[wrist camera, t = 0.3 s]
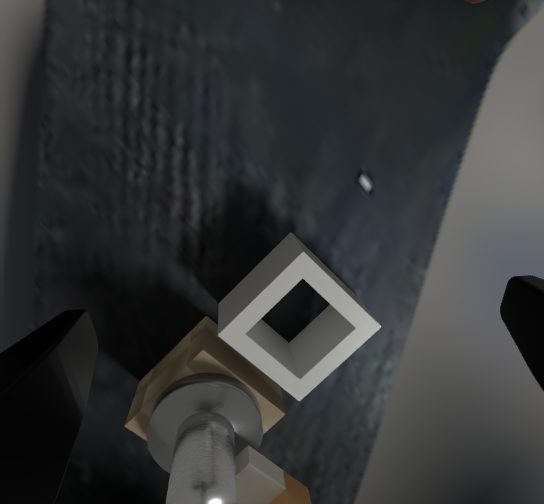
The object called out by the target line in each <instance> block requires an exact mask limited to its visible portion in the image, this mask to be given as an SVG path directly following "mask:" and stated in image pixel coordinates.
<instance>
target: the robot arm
mask: <svg viewBox="0 0 544 504" xmlns="http://www.w3.org/2000/svg"><path fill="white" fill-rule="evenodd" d="M500 313H501V317H502V320H503V322H504V323H505V325H506V327H507V329H508V331H509V332H510V334H511V336H512V338H513V340H514V342H515V343H516V345H517V347H518V349H519V351H520V352H521V354H522V356H523V358H524V360H525V362H526V363H527V365H528V367H529V369H530V371H531V372H532V374H533V376H534V377H535V379H536V380H537V382H538V383H539V385H540V387H541V388H542V389H543V391H544V279H541V278H538V277H535V276H531V275H528V276H516V277H515V276H514V277H512V278H511V279H510V280H509V281H508V283H507V286H506V290H505V293H504V297H503V300H502V303H501V306H500ZM97 353H98V340H97V336H96V333H95V330H94V327H93V324H92V320H91V317H90V314H89V313H88V311H87V310H85V309H76V310H66V311H63V312H62V313H60V314H59V315H57V316H56V317H54V318H53V319H51V320H50V321H48V322H47V323H45V324H44V325H42V326H41V327H39V328H38V329H36V330H35V331H33V332H32V333H30V334H29V335H27V336H25V337H24V338H22V339H21V340H20V341H18V342H16V343H15V344H14V345H12V346H11V347H9V348H7V349H6V350H4V351H3V352H1V353H0V504H55V501H56V498H57V495H58V492H59V489H60V487H61V484H62V481H63V478H64V475H65V472H66V469H67V466H68V463H69V460H70V457H71V454H72V451H73V448H74V445H75V442H76V439H77V436H78V433H79V430H80V427H81V424H82V421H83V417H84V413H85V409H86V404H87V400H88V395H89V390H90V386H91V381H92V376H93V371H94V367H95V362H96V357H97Z"/></svg>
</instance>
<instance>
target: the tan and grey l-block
mask: <svg viewBox="0 0 544 504" xmlns="http://www.w3.org/2000/svg"><path fill="white" fill-rule="evenodd" d="M235 462H236V494H237V504H311V501H310V496H309V492H308V488H307V487H305V486H304V485H303V484H301V483H300V482H298V481H297V480H296V479H294V478H293V477H292V476H290V475H289V474H287V473H286V472H285V471H283V470H282V469H280V468H279V467H278V466H276V465H275V464H274V463H272V462H271V461H269V460H268V459H267V458H265V457H264V456H263V455H261V454H260V453H258V452H257V451H256V450H254V449H253V448H251V447H250V446H249V445H248V446H247V447H246V448H245V449H244V450H242V451H241V452H240V453H239V454H238V455H237V456H236V457H235Z"/></svg>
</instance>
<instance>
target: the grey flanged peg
mask: <svg viewBox="0 0 544 504" xmlns="http://www.w3.org/2000/svg"><path fill="white" fill-rule="evenodd" d="M262 438H263V426H262V418H261V410H260V406H259V403H258V401H257V398H256V397H255V395H254V394H253V392H252V391H251V390H250V389H249V388H248V387H247V386H246V385H245V384H243V383H242V382H240V381H239V380H237V379H235V378H233V377H230V376H227V375H223V374H219V373H198V374H193V375H189V376H186V377H183V378H181V379H179V380H177V381H175V382H174V383H172V384H171V385H169V386H168V387H167V388H166V389H165V390H164V391H163V392H162V393H161V394H160V395H159V397H158V398H157V400H156V402H155V404H154V406H153V409H152V413H151V416H150V420H149V424H148V428H147V444H148V448H149V451H150V453H151V455H152V457H153V458H154V460H155V461H156V462H157V464H158V465H160V466H161V467H162V468H163V469H164V470H166V471H167V472H168V473H170V479H169V485H168V492H167V498H166V504H237V494H236V462H235V457H236V456H237V455H238V454H239V453H240V452H241V451H242V450H244V449H245V448H246V447H247V446H248V445H249V446H250V447H251V448H253V449H254V450H256V451H257V452H258V450H259V448H260V445H261V442H262Z"/></svg>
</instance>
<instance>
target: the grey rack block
mask: <svg viewBox="0 0 544 504" xmlns="http://www.w3.org/2000/svg"><path fill="white" fill-rule="evenodd" d="M302 278H303V279H304V280H305V281H306V282H307V283H308V284H309V285H311V286H312V287H313V288H314V289H315V290H316V291H317V292H318V293H319V294H320V295H321V296H322V297H323V298H324V299H325V300H327V301H328V302H329V303H330V305H329V306H328V307H327V308H325V309H324V310H323V311H322V312H321V313H320V314H319V315H318V316H317V317H316V318H315V319H314V320H313V321H312V322H311V323H310V324H308V325H307V326H306V327H305V328H304V329H303V330H302V331H301V332H300V333H299V334H298V335H297V336H296V337H295V338H294V339H293V340H291V341H290V342H287V341H286V340H285V339H284V338H283V337H282V336H280V335H279V334H278V333H277V332H276V331H275V330H273V329H272V328H271V327H270V326H269V325H268V324H266V323H265V322H264V321H263V320H262V319H261V318H262V317H263V316H264V315H265V314H266V313H267V312H268V311H269V310H270V309H271V308H272V307H273V306H274V305H276V304H277V303H278V302H279V301H280V300H281V299H282V298H283V297H284V296H285V295H286V294H287V293H288V292H289V291H290V290H291V289H292V288H293V287H294V286H295V285H296V284H297V283H298V282H299V281H300V280H301V279H302ZM380 328H381V326H380V324H379V323H378V322H377V321H376V319H375V318H374V317H373V315H372V314H371V313H370V312H369V310H368V309H367V308H366V307H365V305H364V304H363V303H362V302H361V300H360V299H359V298H358V297H357V296H356V295H355V294H354V293H353V292H352V291H351V290H350V289H349V288H348V287H347V286H346V285H345V284H344V283H343V282H342V281H341V280H340V279H339V278H338V277H337V276H336V275H335V274H334V273H333V272H332V271H331V270H329V269H328V268H327V267H326V266H325V265H324V264H323V263H322V262H321V261H320V260H319V259H318V258H317V257H316V256H315V255H314V254H313V253H312V252H311V251H310V250H309V249H308V248H307V247H306V246H305V245H304V244H303V243H302V242H301V241H300V240H299V239H298V238H297V237H296V236H295V235H294V234H292V233H291V232H290V233H289V234H288V235H287V236H286V237H285V238H284V239H283V240H282V241H281V242H280V243H279V244H278V245H277V246H276V247H275V248H274V249H273V250H272V251H271V252H270V253H269V254H268V255H267V256H266V257H265V258H264V259H263V260H262V261H261V262H260V263H259V264H258V265H257V266H256V267H255V268H254V269H253V270H252V271H251V272H250V273H249V274H248V275H247V276H246V277H245V278H244V279H243V280H242V281H241V282H240V283H239V284H238V285H237V286H236V287H235V288H234V289H233V290H232V291H231V292H230V293H229V294H228V295H227V296H226V297H225V298H224V299H223V300H222V301H221V302H220V303H219V309H218V336H219V337H220V338H221V339H223V340H224V341H225V342H226V343H228V344H229V345H230V346H231V347H233V348H234V349H235V350H236V351H238V352H239V353H240V354H241V355H242V356H244V357H245V358H246V359H247V360H249V361H250V362H251V363H252V364H254V365H255V366H256V367H257V368H259V369H260V370H261V371H262V372H264V373H265V374H266V375H267V376H268V377H270V378H271V379H272V380H273V381H275V382H276V383H277V384H278V385H280V386H281V387H282V388H283V389H285V390H286V391H287V392H288V393H290V394H291V395H292V396H293V397H295V398H296V399H297V400H298V401H299V402H300V401H301V400H302V399H303V398H304V397H305V396H306V395H307V394H308V393H309V392H310V391H312V390H313V389H314V388H315V387H316V386H317V385H318V384H319V383H320V382H321V381H323V380H324V379H325V378H326V377H327V376H328V375H329V374H330V373H331V372H332V371H334V370H335V369H336V368H337V367H338V366H339V365H340V364H341V363H342V362H343V361H345V360H346V359H347V358H348V357H349V356H350V355H351V354H352V353H353V352H354V351H356V350H357V349H358V348H359V347H360V346H361V345H362V344H363V343H364V342H365V341H367V340H368V339H369V338H370V337H371V336H372V335H373V334H374V333H375V332H376V331H378V330H379V329H380Z"/></svg>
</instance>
